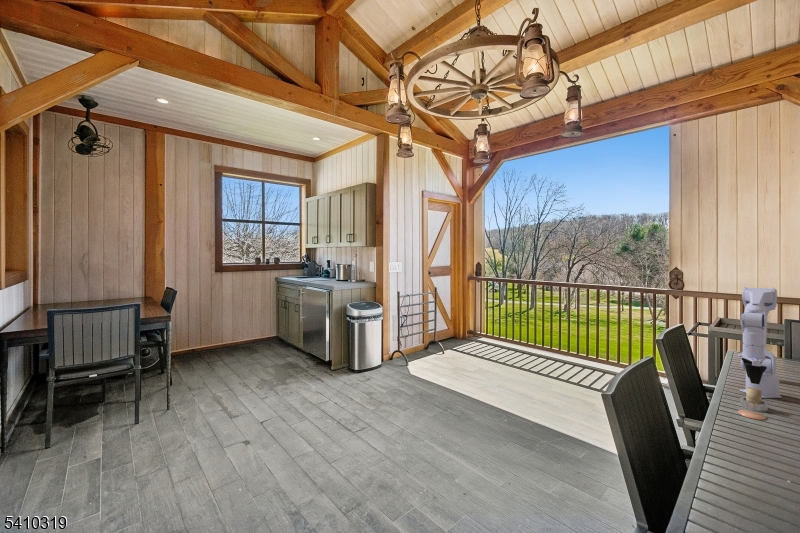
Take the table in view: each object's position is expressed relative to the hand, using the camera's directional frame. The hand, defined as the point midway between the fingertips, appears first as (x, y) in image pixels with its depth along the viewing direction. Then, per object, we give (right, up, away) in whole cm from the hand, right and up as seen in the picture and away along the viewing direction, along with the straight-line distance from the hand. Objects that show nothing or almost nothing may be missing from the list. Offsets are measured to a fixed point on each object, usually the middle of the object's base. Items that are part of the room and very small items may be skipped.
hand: (753, 380), depth 127 cm
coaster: (-6, -11, -5) cm, 13 cm away
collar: (+1, -10, +1) cm, 11 cm away
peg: (+1, -11, +1) cm, 11 cm away
